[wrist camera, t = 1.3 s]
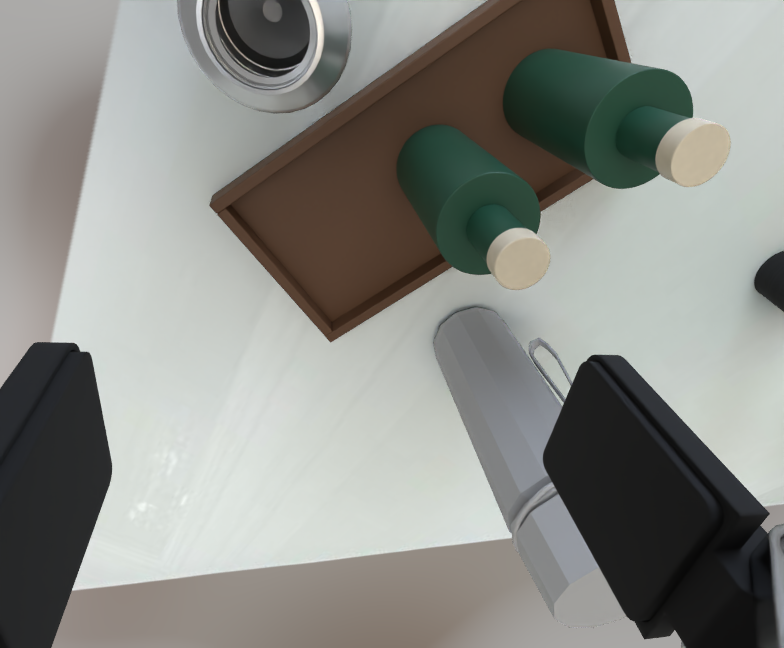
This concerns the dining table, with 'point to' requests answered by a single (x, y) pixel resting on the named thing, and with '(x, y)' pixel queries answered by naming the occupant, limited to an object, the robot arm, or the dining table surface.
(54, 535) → the robot arm
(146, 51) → the dining table surface
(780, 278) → the drinking cup
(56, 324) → the dining table surface
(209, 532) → the dining table surface
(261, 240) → the tray
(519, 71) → the green bottle
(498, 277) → the green bottle
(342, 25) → the silver metal bottle
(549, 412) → the water bottle
